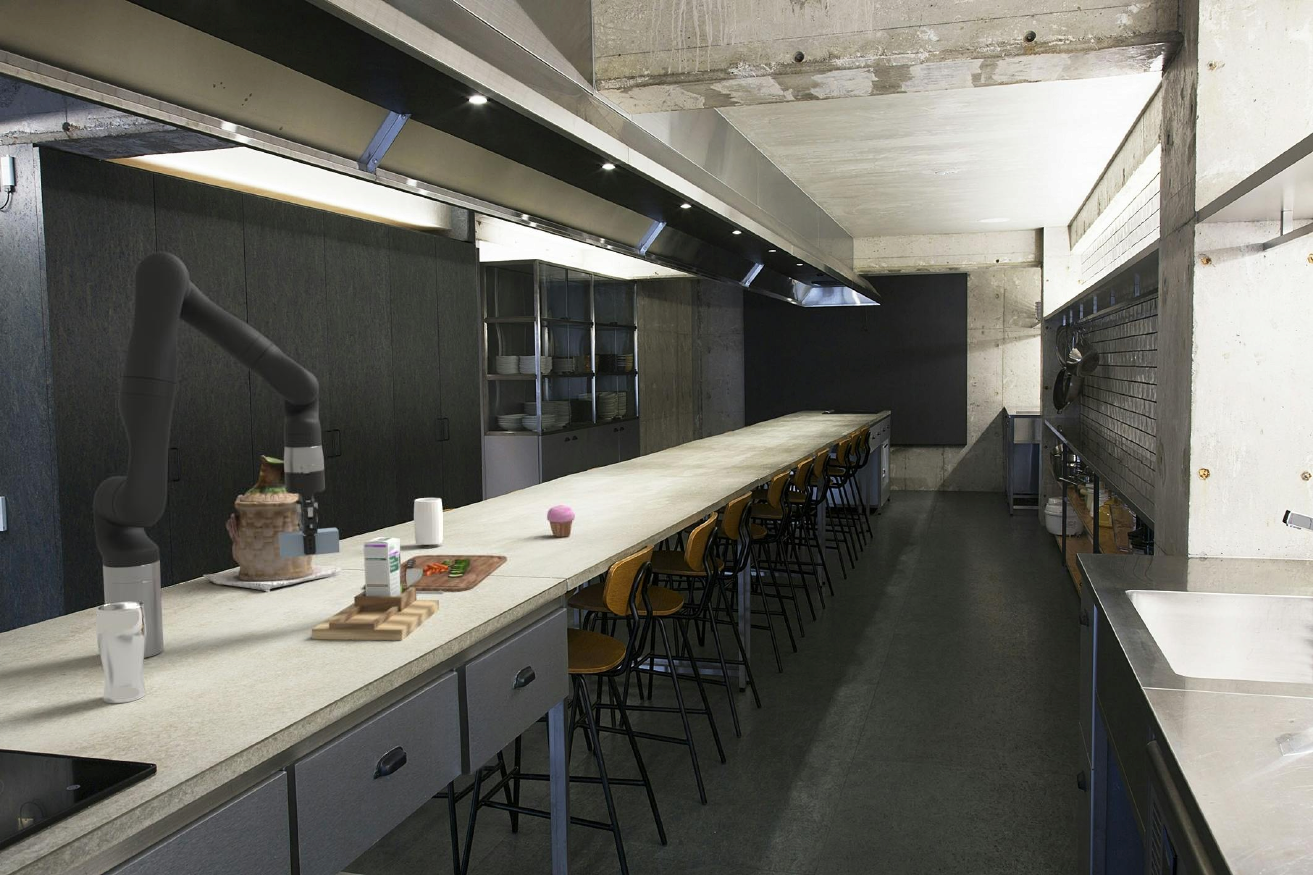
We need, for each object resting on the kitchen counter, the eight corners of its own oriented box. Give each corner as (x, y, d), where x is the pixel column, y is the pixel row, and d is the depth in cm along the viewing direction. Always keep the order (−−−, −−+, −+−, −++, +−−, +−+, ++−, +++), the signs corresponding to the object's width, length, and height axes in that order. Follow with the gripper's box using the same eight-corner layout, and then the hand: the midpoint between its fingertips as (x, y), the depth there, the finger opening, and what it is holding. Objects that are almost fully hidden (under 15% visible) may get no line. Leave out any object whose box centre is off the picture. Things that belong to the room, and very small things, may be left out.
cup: (449, 545, 286) (448, 498, 285) (429, 549, 279) (427, 502, 278) (429, 542, 290) (428, 496, 289) (408, 547, 283) (407, 500, 282)
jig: (401, 640, 184) (401, 614, 184) (312, 639, 185) (311, 613, 185) (439, 609, 208) (438, 586, 208) (359, 608, 209) (358, 586, 209)
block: (336, 548, 197) (335, 527, 196) (339, 552, 193) (338, 530, 193) (280, 554, 192) (278, 532, 192) (281, 558, 188) (280, 535, 188)
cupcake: (579, 537, 298) (579, 505, 297) (554, 539, 294) (553, 507, 293) (567, 533, 306) (567, 502, 305) (542, 535, 301) (542, 504, 301)
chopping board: (465, 596, 222) (465, 583, 222) (355, 595, 225) (355, 582, 224) (511, 558, 267) (511, 547, 267) (419, 557, 269) (419, 547, 269)
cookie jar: (346, 574, 246) (342, 451, 244) (265, 594, 225) (260, 460, 222) (281, 565, 258) (277, 448, 256) (199, 583, 237) (194, 456, 234)
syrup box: (390, 609, 200) (389, 541, 199) (365, 608, 201) (363, 540, 200) (402, 602, 206) (401, 536, 205) (377, 601, 207) (375, 536, 206)
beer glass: (157, 689, 156) (153, 600, 155) (135, 704, 149) (131, 610, 148) (114, 690, 156) (110, 600, 155) (90, 705, 149) (85, 611, 148)
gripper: (281, 466, 196) (285, 548, 197) (288, 473, 183) (292, 560, 184) (319, 463, 199) (323, 544, 200) (328, 470, 186) (333, 556, 188)
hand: (308, 551), depth 192 cm, fingers closed on block, 4 cm apart
